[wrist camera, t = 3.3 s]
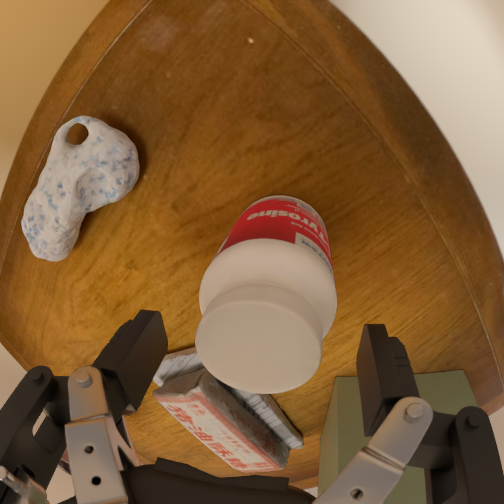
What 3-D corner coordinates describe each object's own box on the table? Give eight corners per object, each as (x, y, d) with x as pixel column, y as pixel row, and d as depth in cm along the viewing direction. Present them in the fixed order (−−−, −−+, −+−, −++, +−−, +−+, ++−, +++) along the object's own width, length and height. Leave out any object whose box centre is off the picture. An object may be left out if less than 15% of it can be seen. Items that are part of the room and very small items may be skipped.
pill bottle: (343, 217, 19) (378, 326, 9) (302, 290, 22) (294, 420, 12) (255, 177, 19) (199, 251, 9) (223, 256, 22) (161, 370, 12)
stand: (463, 369, 23) (506, 505, 9) (425, 431, 28) (441, 542, 14) (335, 376, 25) (334, 547, 11) (320, 438, 30) (311, 560, 16)
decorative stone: (87, 271, 25) (53, 301, 20) (41, 223, 23) (4, 245, 19) (162, 154, 19) (122, 168, 15) (100, 100, 18) (53, 102, 13)
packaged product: (304, 471, 26) (227, 477, 29) (306, 437, 30) (235, 447, 34) (209, 375, 20) (123, 391, 24) (224, 333, 25) (143, 357, 28)
